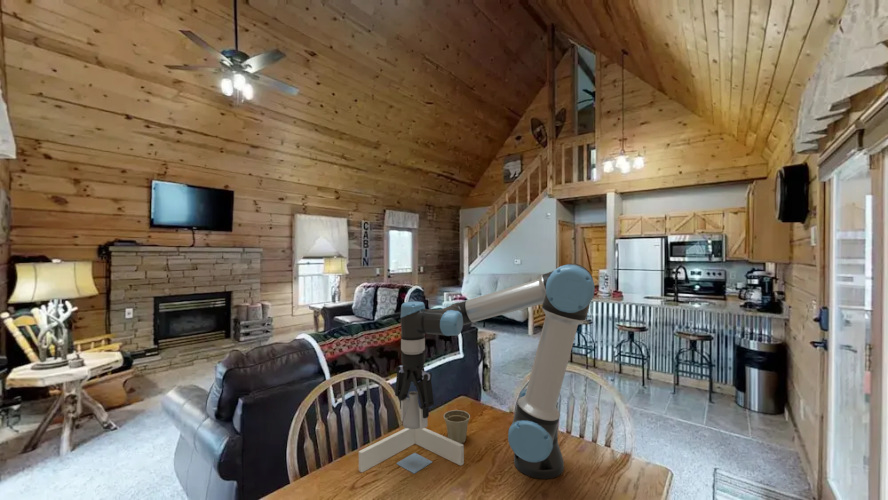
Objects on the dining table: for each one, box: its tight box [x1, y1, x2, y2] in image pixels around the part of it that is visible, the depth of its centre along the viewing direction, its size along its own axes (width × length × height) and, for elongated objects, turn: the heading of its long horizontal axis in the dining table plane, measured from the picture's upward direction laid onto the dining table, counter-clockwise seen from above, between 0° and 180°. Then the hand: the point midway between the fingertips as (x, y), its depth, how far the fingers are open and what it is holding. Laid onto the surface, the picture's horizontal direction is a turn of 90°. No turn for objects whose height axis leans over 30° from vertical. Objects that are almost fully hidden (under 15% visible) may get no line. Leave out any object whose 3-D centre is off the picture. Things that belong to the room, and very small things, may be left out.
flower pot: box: [443, 409, 471, 444], centre depth 134 cm, size 9×9×9 cm
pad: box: [396, 452, 433, 475], centre depth 119 cm, size 8×8×1 cm
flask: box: [402, 390, 421, 429], centre depth 119 cm, size 7×7×10 cm
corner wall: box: [358, 427, 465, 473], centre depth 117 cm, size 22×24×6 cm
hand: (414, 423), depth 119 cm, fingers closed on flask, 8 cm apart
